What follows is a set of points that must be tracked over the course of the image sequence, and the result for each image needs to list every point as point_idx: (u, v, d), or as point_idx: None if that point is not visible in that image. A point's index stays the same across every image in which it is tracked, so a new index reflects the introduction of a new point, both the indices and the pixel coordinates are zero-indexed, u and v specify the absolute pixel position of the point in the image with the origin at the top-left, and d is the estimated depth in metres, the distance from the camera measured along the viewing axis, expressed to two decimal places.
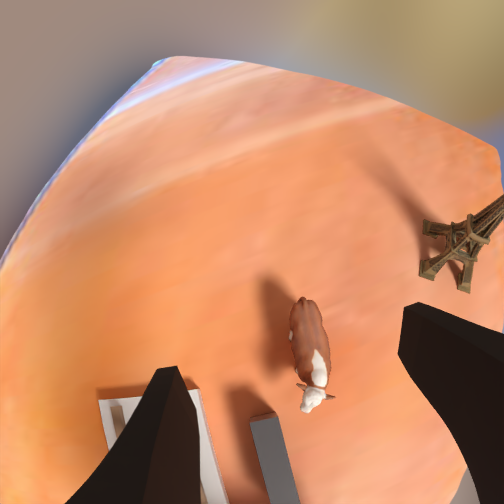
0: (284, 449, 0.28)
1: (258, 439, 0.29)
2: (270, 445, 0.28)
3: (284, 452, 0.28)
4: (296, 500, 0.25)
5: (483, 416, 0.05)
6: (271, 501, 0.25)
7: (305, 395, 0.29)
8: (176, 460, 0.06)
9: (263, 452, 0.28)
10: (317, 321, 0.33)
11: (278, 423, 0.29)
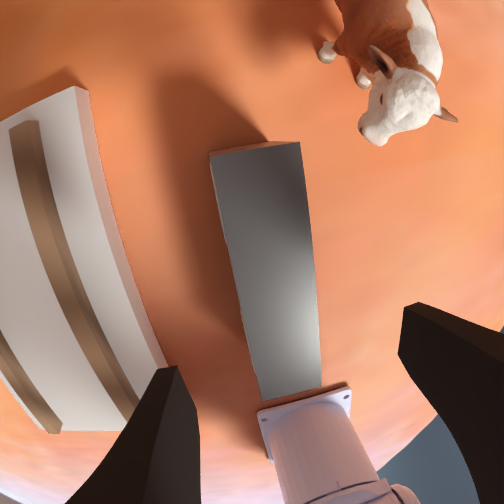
0: (307, 248, 0.12)
1: (236, 214, 0.11)
2: (270, 235, 0.11)
3: (307, 257, 0.12)
4: (315, 377, 0.14)
5: (483, 416, 0.05)
6: (260, 382, 0.14)
7: (395, 86, 0.08)
8: (176, 460, 0.06)
9: (249, 257, 0.12)
10: None
11: (299, 164, 0.11)
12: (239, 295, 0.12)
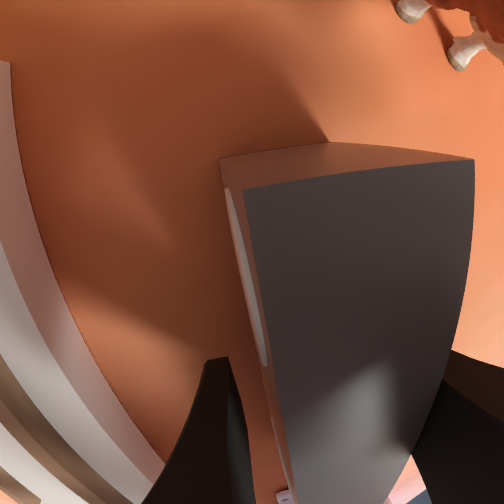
0: (433, 382, 0.05)
1: (311, 351, 0.04)
2: (379, 379, 0.04)
3: (429, 394, 0.05)
4: (378, 502, 0.07)
5: (440, 444, 0.05)
6: None
7: None
8: (238, 452, 0.06)
9: (327, 421, 0.04)
10: None
11: (467, 217, 0.03)
12: (294, 469, 0.05)
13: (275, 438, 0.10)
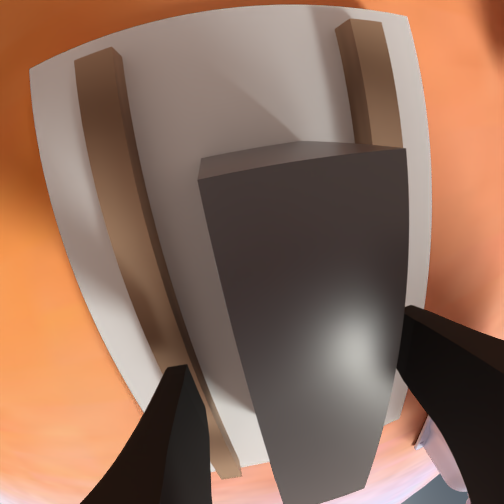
0: (390, 354, 0.06)
1: (262, 312, 0.05)
2: (331, 345, 0.05)
3: (388, 366, 0.06)
4: (358, 484, 0.08)
5: (475, 422, 0.05)
6: (286, 501, 0.08)
7: None
8: (188, 459, 0.06)
9: (286, 383, 0.05)
10: None
11: (402, 199, 0.04)
12: (263, 433, 0.06)
13: None
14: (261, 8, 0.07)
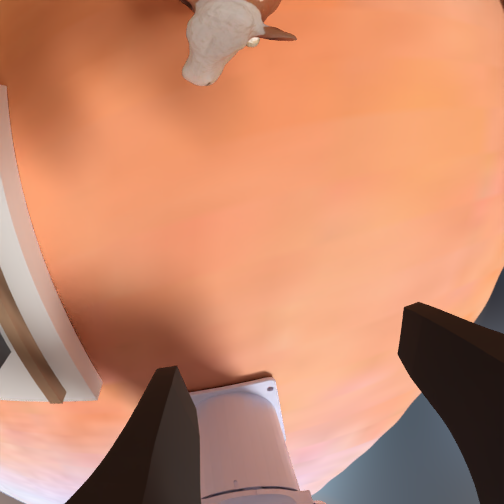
0: None
1: None
2: None
3: None
4: None
5: (483, 416, 0.05)
6: None
7: (193, 16, 0.07)
8: (176, 460, 0.06)
9: None
10: None
11: None
12: None
13: None
14: None
